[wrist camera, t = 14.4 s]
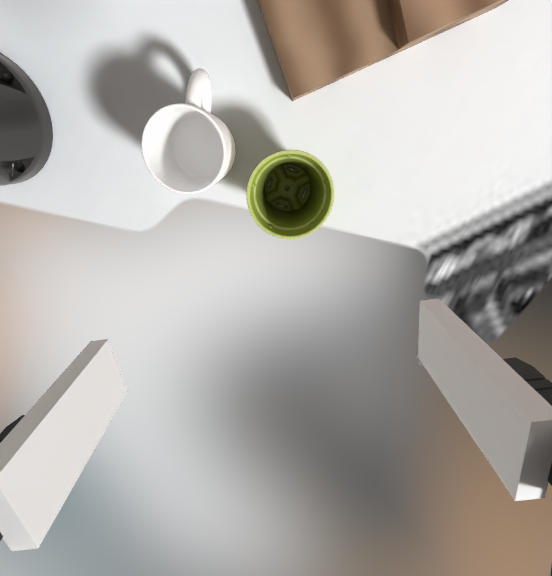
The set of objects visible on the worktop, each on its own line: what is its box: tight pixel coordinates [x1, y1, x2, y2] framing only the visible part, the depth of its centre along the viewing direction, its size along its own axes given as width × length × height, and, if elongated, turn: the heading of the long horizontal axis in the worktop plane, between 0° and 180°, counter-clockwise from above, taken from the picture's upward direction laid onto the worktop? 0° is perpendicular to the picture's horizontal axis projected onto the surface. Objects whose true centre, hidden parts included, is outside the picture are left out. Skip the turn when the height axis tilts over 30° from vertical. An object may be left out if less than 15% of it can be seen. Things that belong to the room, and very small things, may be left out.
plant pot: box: [247, 150, 334, 239], centre depth 41 cm, size 9×9×9 cm
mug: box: [141, 69, 235, 194], centre depth 38 cm, size 12×8×10 cm
